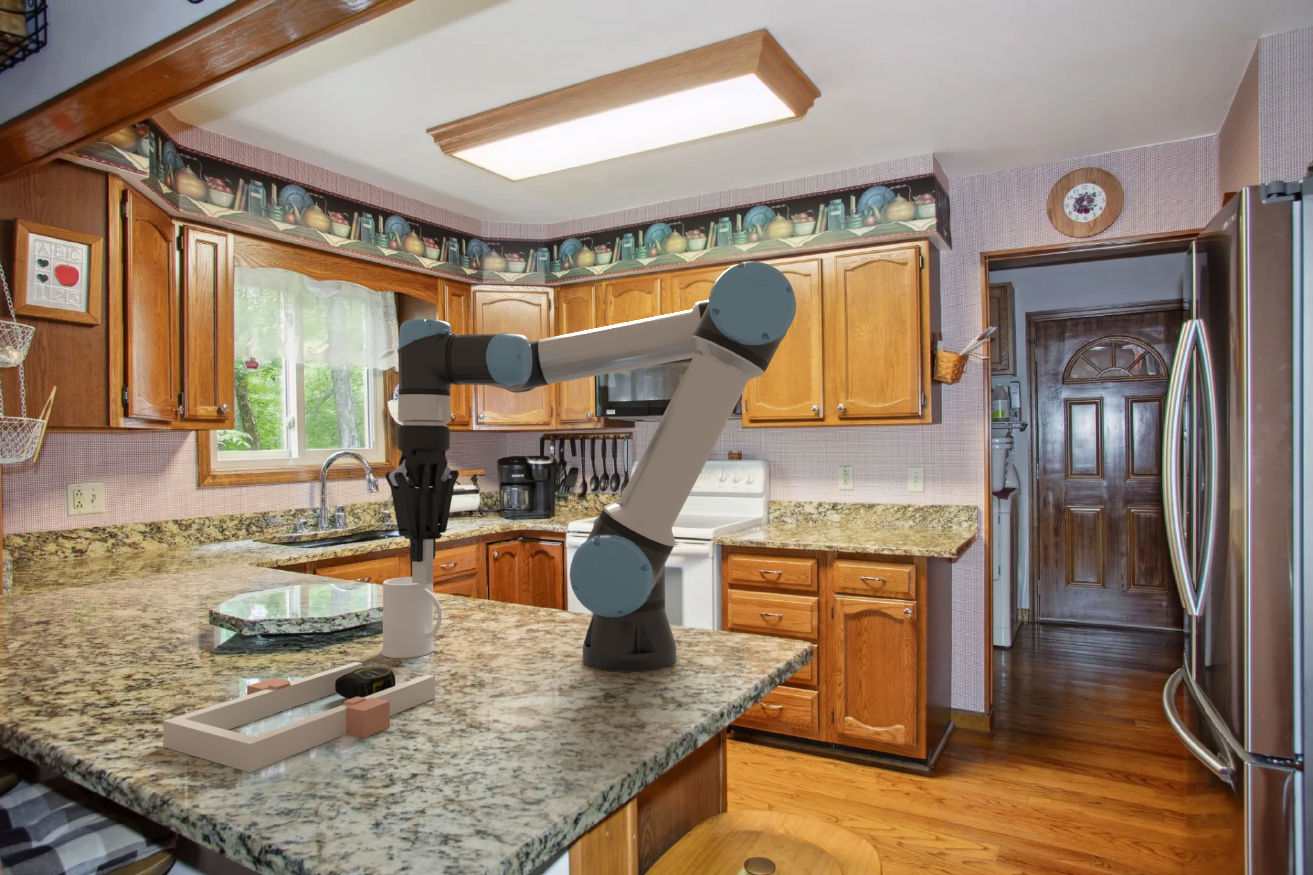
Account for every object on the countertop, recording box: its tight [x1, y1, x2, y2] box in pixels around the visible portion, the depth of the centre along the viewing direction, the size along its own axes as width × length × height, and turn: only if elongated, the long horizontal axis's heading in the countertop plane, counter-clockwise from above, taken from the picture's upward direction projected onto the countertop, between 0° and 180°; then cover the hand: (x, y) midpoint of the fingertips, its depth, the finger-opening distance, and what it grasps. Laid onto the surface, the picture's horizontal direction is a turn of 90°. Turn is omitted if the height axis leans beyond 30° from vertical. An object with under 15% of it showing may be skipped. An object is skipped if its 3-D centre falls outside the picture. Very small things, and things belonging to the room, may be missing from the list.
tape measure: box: [335, 666, 397, 700], centre depth 107 cm, size 7×7×4 cm
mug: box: [380, 576, 443, 659], centre depth 131 cm, size 12×8×12 cm
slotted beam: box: [162, 661, 436, 773], centre depth 99 cm, size 22×28×3 cm
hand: (422, 582), depth 116 cm, fingers closed
